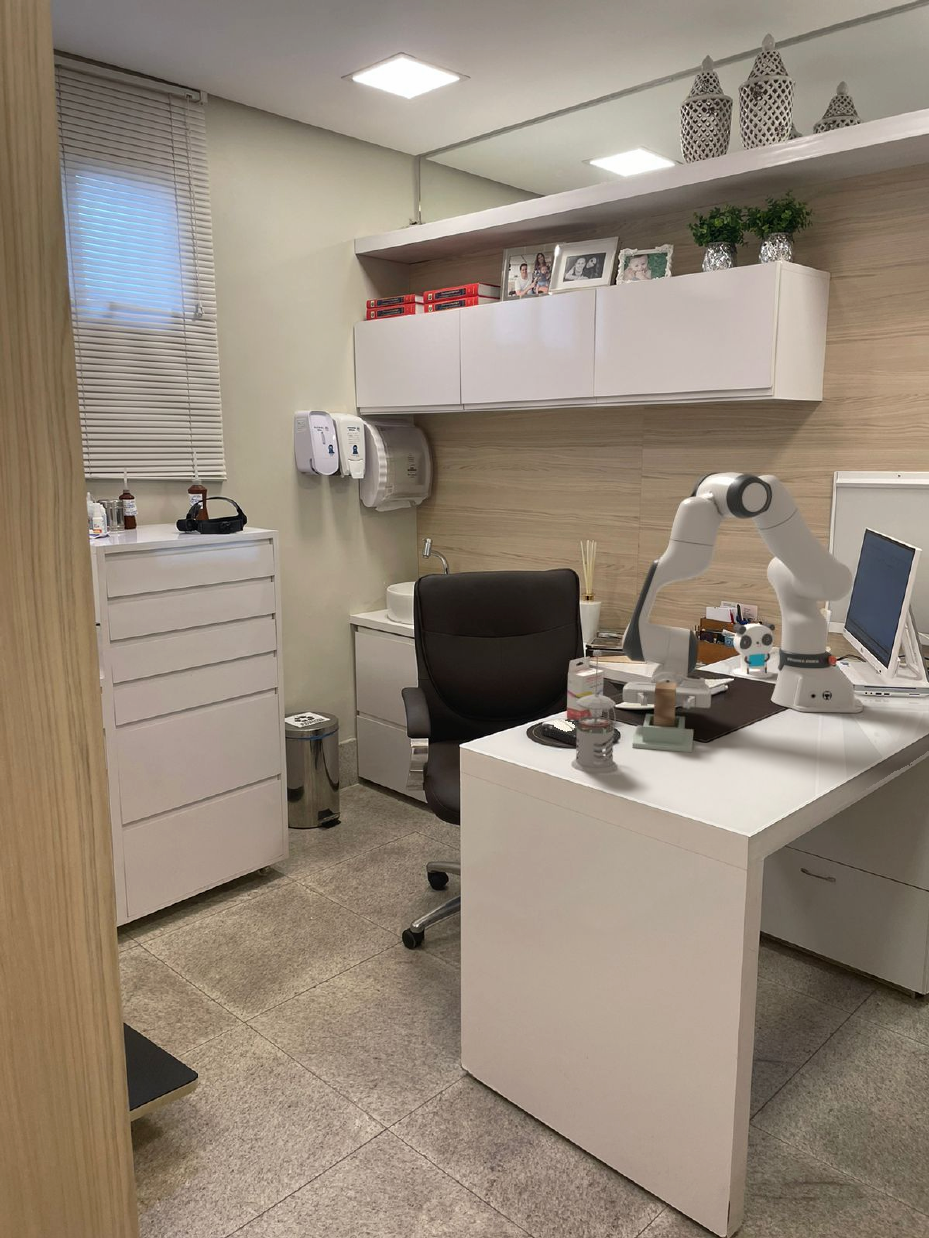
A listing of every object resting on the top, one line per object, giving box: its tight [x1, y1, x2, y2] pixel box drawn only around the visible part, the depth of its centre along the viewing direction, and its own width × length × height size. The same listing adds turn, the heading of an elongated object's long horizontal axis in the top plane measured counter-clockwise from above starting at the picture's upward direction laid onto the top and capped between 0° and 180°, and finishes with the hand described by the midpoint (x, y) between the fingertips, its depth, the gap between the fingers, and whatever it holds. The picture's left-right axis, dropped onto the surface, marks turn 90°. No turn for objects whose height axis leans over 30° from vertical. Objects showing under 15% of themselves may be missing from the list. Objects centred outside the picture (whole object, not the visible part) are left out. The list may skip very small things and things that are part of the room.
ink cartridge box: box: [566, 656, 605, 720], centre depth 233 cm, size 9×5×15 cm, turn 134°
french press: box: [570, 649, 618, 774], centre depth 198 cm, size 10×12×25 cm
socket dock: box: [631, 713, 694, 753], centre depth 216 cm, size 13×14×4 cm
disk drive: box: [541, 718, 618, 747], centre depth 218 cm, size 10×3×15 cm
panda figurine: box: [732, 621, 776, 679], centre depth 278 cm, size 12×11×15 cm
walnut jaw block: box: [653, 682, 676, 727], centre depth 215 cm, size 4×6×12 cm
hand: (665, 703), depth 214 cm, fingers open, 8 cm apart
